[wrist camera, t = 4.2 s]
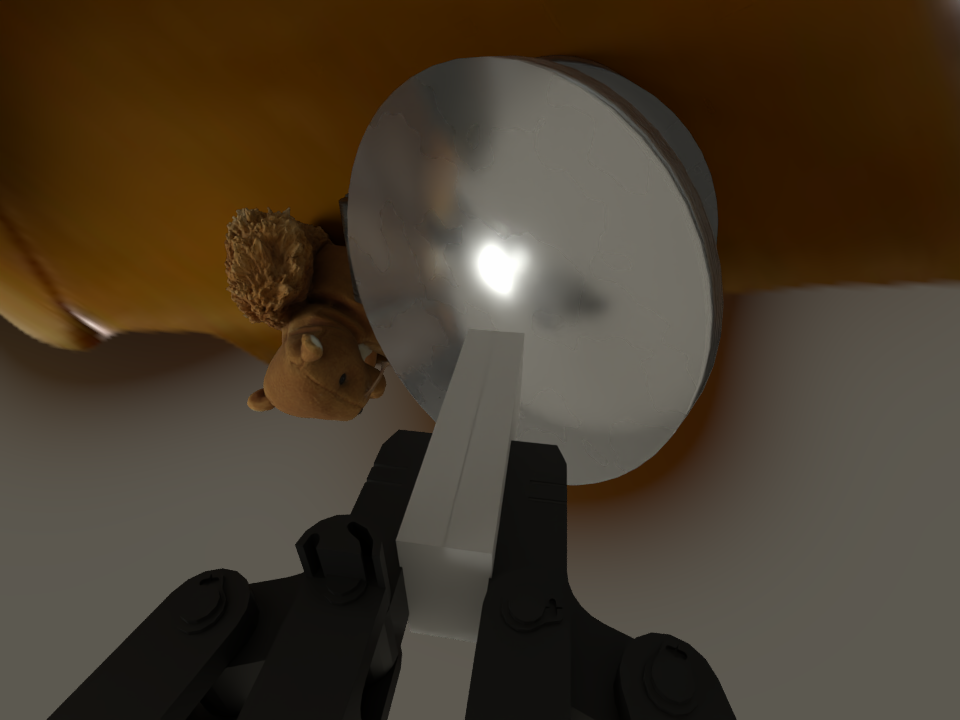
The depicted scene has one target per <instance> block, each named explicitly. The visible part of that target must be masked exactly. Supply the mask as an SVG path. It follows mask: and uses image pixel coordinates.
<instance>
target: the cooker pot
mask: <svg viewBox="0 0 960 720" xmlns="http://www.w3.org/2000/svg"><path fill="white" fill-rule="evenodd" d="M537 58H539V59H546V60H549V61H552V62H555V63H559V64H562V65H565V66H568V67H572V68H575V69H577V70H578V71H580V72H582V73H584V74H586V75H588V76H590V77H592V78H594V79H596V80H598V81H600V82H602V83H604V84H605V85H607V86H608V87H609V88H611V89H612V90H613V91H615V92H616V93H617V94H619V95H620V96H621V97H623V98H624V99H626V100H627V101H628V102H630V103H631V104H632V105H633V106H634V107H635V108H636V109H637V110H638V111H639V112H640V113H641V114H642V115H643V116H644V117H645V118H646V119H647V120H648V121H649V122H650V123H651V124H652V125H653V126H654V127H655V128H656V129H657V130H658V131H659V132H660V133H661V135H662V136H663V138H664V139H665V140H666V142H667V143H668V144H669V146H670V147H671V148H672V150H673V151H674V152H675V154H676V155H677V157H678V158H679V159H680V161H681V162H682V164H683V166H684V167H685V169H686V171H687V173H688V175H689V177H690V179H691V181H692V182H693V184H694V186H695V188H696V190H697V192H698V194H699V195H700V198H701V200H702V203H703V206H704V209H705V211H706V214H707V217H708V219H709V222H710V225H711V228H712V230H713V234H714V238H715V243H716V244H717V230H718V213H717V200H716V195H715V190H714V186H713V182H712V177H711V174H710V171H709V169H708V166H707V164H706V161H705V159H704V156H703V154H702V152H701V150H700V149H699V147H698V145H697V144H696V142H695V140H694V139H693V137H692V135H691V134H690V132H689V131H688V129H687V128H686V127H685V126H684V125H683V123H682V122H681V121H680V120H679V119H678V118H677V116H676V115H675V114H674V113H673V112H672V111H671V110H670V109H669V108H668V107H666V106H665V105H664V104H663V103H662V102H661V101H659V100H658V99H657V98H656V97H655V96H654V95H652V94H650V93H649V92H647V91H646V90H644V89H642V88H641V87H639V86H637V85H636V84H634V83H633V82H631V81H629V80H628V79H626V78H625V77H623V76H621V75H620V74H618V73H617V72H615V71H613V70H612V69H610V68H608V67H607V66H604V65H602V64H600V63H597V62H595V61H592V60H589V59H584V58H580V57H576V56H565V55H552V56H541V57H537ZM348 195H349V193H348V194H346V197H348Z"/></svg>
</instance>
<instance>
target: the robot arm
mask: <svg viewBox="0 0 960 720" xmlns="http://www.w3.org/2000/svg"><path fill="white" fill-rule="evenodd" d="M524 336H525V333H514V332H501V331H488V330H476V329H468V332H467V335H466V338H465V341H464V344H463V346H462V349H461V352H460V355H459V358H458V361H457V364H456V367H455V370H454V373H453V376H452V378H451V381H450V384H449V387H448V390H447V393H446V396H445V399H444V402H443V405H442V407H441V410H440V413H439V416H438V419H437V422H436V425H435V428H434V431H433V433H425V432H416V431H407V430H398V431H397V432H396V433H395V434H394V435H392V436H391V437H390V438H389V439H388V440H387V441H386V442H385V443H384V444H383V445H382V447H381V449H380V451H379V453H378V455H377V458H376V460H375V462H374V467H372V468H371V471H370V473H369V475H368V477H367V482H366V483H365V484H364V486H363V488H362V490H361V493H360V495H359V497H358V499H357V501H356V504H355V506H354V508H353V510H352V512H351V514H350V515H336V516H333V517H330V518H327V519H324V520H321V521H319V522H318V523H317V524H315V525H314V526H312V527H311V528H310V529H308V530H307V531H305V533H304V534H303V535H302V537H301V538H300V539H299V540H298V542H297V543H296V544H295V546H296V549H297V552H298V555H299V558H300V561H301V564H302V566H303V569H304V572H303V573H301V574H298V575H294V576H291V577H287V578H281V579H276V580H270V581H264V582H259V583H252V584H248V581H247V580H246V579H245V578H244V577H243V576H242V575H241V574H239V573H238V572H237V571H233V570H228V569H223V568H222V569H216V570H211V571H205V572H203V573H201V574H199V575H197V576H195V577H192V578H191V579H188V580H187V581H186V582H184V583H183V584H182V585H181V586H179V587H178V588H177V589H176V590H174V591H173V592H172V593H171V594H170V595H169V596H168V597H167V598H166V599H165V600H164V601H163V602H162V603H161V604H160V605H159V606H158V607H157V608H156V609H155V610H154V611H153V612H152V613H151V614H150V615H149V616H148V617H147V618H146V619H145V620H144V621H143V622H142V623H141V624H140V625H139V626H138V627H137V628H136V629H135V630H134V631H133V632H132V633H131V634H130V635H129V636H128V638H126V639H125V641H124V642H123V643H122V644H121V645H120V646H119V647H118V648H117V649H116V650H115V651H114V652H113V653H112V654H111V655H110V656H109V657H108V658H107V659H106V660H105V661H104V662H103V663H102V664H101V665H100V666H99V667H98V668H97V669H96V670H95V671H94V672H93V673H92V674H91V675H90V676H89V677H88V678H87V679H86V680H85V681H84V682H83V683H82V684H81V685H80V686H79V687H78V688H77V689H76V690H75V691H74V692H73V693H72V694H71V695H70V696H69V697H68V698H67V699H66V700H65V701H64V702H63V703H62V704H61V705H60V706H59V708H57V709H56V711H55V712H54V713H53V714H52V715H51V716H50V717H49V718H48V719H47V720H387V719H388V715H389V711H390V707H391V703H392V700H393V696H394V692H395V688H396V685H397V681H398V677H399V673H400V669H401V659H402V650H401V642H402V639H403V635H404V631H405V628H406V624H407V621H408V623H409V630H410V632H414V633H420V634H426V635H432V636H438V637H445V638H451V639H457V640H464V641H470V642H476V643H477V644H476V651H475V657H474V663H473V670H472V677H471V683H470V689H469V696H468V702H467V709H466V715H465V720H736V717H735V715H734V713H733V711H732V708H731V706H730V704H729V702H728V700H727V697H726V695H725V693H724V691H723V688H722V686H721V684H720V682H719V680H718V678H717V676H716V675H715V673H714V672H713V670H712V668H711V667H710V665H709V664H708V662H707V661H706V659H705V658H704V657H703V656H702V655H701V654H700V653H698V652H697V651H696V650H695V649H694V648H693V647H692V646H691V645H690V644H688V643H686V642H684V641H682V640H680V639H678V638H676V637H674V636H672V635H668V634H660V633H649V634H646V635H643V636H640V637H636V638H635V639H633V638H631V637H630V636H628V635H625V634H624V633H621V632H619V631H617V630H615V629H613V628H611V627H609V626H607V625H605V624H603V623H602V622H600V621H599V620H597V619H596V618H594V617H592V616H591V615H590V614H589V613H588V612H587V611H586V610H584V608H583V607H581V605H580V604H579V602H578V601H577V599H576V598H575V597H574V595H573V593H572V590H571V588H570V585H569V583H568V576H567V463H566V461H565V459H564V457H563V455H562V453H561V452H560V450H559V448H558V446H557V445H551V444H541V443H532V442H523V441H516V437H517V429H518V422H519V414H520V399H521V383H522V367H523V351H524Z"/></svg>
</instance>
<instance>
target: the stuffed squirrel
mask: <svg viewBox="0 0 960 720" xmlns="http://www.w3.org/2000/svg"><path fill="white" fill-rule="evenodd" d="M267 209H268V212H269V213H263V212H261V211H259V210H258V208H257V209H251V210H249V209H247V208H245V209H242V210H237V211H236V212H237V217H236V218H235V217H234V216H233V217H232V218H233V219H234V220H233V221H232V223H231V222H229V225H228V224H227V227H228V229H229V230H228V231H229V233H227V234H226V238H227V240H225V248H226V252H227V259H226V262H225V266H226V267H227V268H226V273H227V276H228V280H227V282H228V283H229V284H230V286H231V287H230V286H229V287H228V288H226V290H228V291H230V292H231V293H232V294H231V296H232V297H231V299H233V301H234V302H236V303H237V307H238V308H239V310H240V311H242V312H243V313H245V315H243V316H245V317H247V318H249V319H250V320H249V321H251V323H255V322H257V323H260V322H264V323H266V324H268V326H269V327H270V326H271V327H274V329H278V330H282V345H281V347H280V348H279V350H278V351H277V353H276V354H275V356H274V357H273V359H272V361H271V363H270V364H269V367H268V369H267V372H266V375H265V378H264V388H263V389H260V390H258V391H256V392H254V393H253V394H251V395H250V397H249V398H248V403H247V404H248V406H249V407H250V408H251V409H252V410H254V411H265V410H271V409H273V408H274V407H276V408H278V409H279V410H280V411H282V412H284V413H287V414H289V415H293V416H297V417H301V418H303V417H304V418H318V419H325V420H339V421H348V420H352V419H353V418H355V417H356V416H357V415H358V414H360V413H361V412H362V410H363V407H364V406H365V405H366V403H367V402H368V400H369V399H370V398H371V399H374V398H379V397H380V396H382V394H383V393H384V390H385V387H386V381H385V377H384V375H383V372H384V370H385V368H386V367H387V366H388V365H390V364H389V362H383V361H382V368H381V371H379V370H378V369H376V368H374V367H375V365H376V360H377V353H378V354H381V355H383V356H384V357H386V356H385V354H384V352H383V350H382V348H381V346H380V344H379V342H378V340H377V339H376V336H375V334H374V332H373V330H372V327H371V325H370V323H369V320H368V318H367V315H366V312H365V310H364V307H363V304H361V303H358V302H356V301H355V299H354V293H353V287H352V281H351V274H350V268H349V262H348V256H347V250H346V246H339V245H334V244H333V243H332V242H331V240H330V239H329V238H330V236H329V235H328V233H327V234H326V233H325V232H324V231H323V229H321V227H320V226H318V227H317V228H316V227H314V226H313V225H308V224H304V223H301V222H300V221H296V220H295V218H294V217H291V216H290V208H288V209H287V210H285V211H283V213H281V212H280V211H277V213H273V212H272V211H271V210H270V209H269V207H267Z"/></svg>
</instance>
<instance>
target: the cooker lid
mask: <svg viewBox="0 0 960 720" xmlns="http://www.w3.org/2000/svg"><path fill="white" fill-rule="evenodd" d="M339 206H340V212H341V218H342V225H343V231H344V237H345V243H346V250H347V256H348V262H349V268H350V274H351V281H352V287H353V293H354V299H355V301H356V302H358V303H361V304H363V307H364V310H365V312H366V315H367V318H368V320H369V323H370V325H371V327H372V330H373V332H374V334H375V336H376V339H377V340H378V342H379V344H380V346H381V348H382V350H383V352H384V354H385V356H386V358H387V359H388V361H389V362H390V364H391V366H392V367H393V369H394V371H395V372H396V374H397V375H398V377H399V378H400V379H401V381H402V382H403V384H404V385H405V387H406V388H407V389H408V391H409V392H410V393H411V395H412V396H413V397H414V398H415V400H416V401H417V402H418V403H419V404H420V406H421V407H422V408H423V409H424V410H425V411H426V412H427V413H428V414H429V415H430V416H431V417H432V419H433V420H434V421H435V422H437V419H438V416H439V413H440V410H441V407H442V405H443V402H444V399H445V396H446V393H447V390H448V387H449V384H450V381H451V378H452V376H453V373H454V370H455V367H456V364H457V361H458V358H459V355H460V352H461V349H462V346H463V344H464V341H465V338H466V335H467V332H468V329H476V330H488V331H501V332H514V333H525V336H524V351H523V367H522V383H521V399H520V414H519V422H518V429H517V437H516V441H523V442H532V443H541V444H551V445H557V446H558V448H559V450H560V452H561V453H562V455H563V457H564V459H565V461H566V463H567V485H583V484H591V483H598V482H602V481H605V480H609V479H613V478H617V477H619V476H621V475H623V474H625V473H627V472H629V471H631V470H633V469H635V468H637V467H639V466H640V465H641V464H643V463H644V462H645V461H647V460H648V459H650V458H651V457H652V456H654V455H655V454H656V453H657V452H658V451H659V450H660V448H662V446H663V445H664V444H665V443H666V442H667V441H668V440H669V439H670V438H671V437H672V435H673V434H674V433H675V431H676V430H677V428H678V427H679V426H680V424H681V423H682V421H683V420H684V418H685V417H686V416H687V414H688V413H689V411H690V410H691V408H692V407H693V405H694V403H695V402H696V401H697V399H698V397H699V396H700V394H701V393H702V391H703V389H704V387H705V384H706V382H707V379H708V377H709V375H710V373H711V370H712V368H713V365H714V361H715V357H716V353H717V349H718V345H719V341H720V337H721V326H722V313H723V291H722V276H721V266H720V261H719V257H718V252H717V248H716V243H715V238H714V234H713V230H712V228H711V225H710V222H709V219H708V217H707V214H706V211H705V209H704V206H703V203H702V200H701V198H700V195H699V194H698V192H697V190H696V188H695V186H694V184H693V182H692V181H691V179H690V177H689V175H688V173H687V171H686V169H685V167H684V166H683V164H682V162H681V161H680V159H679V158H678V157H677V155H676V154H675V152H674V151H673V150H672V148H671V147H670V146H669V144H668V143H667V142H666V140H665V139H664V138H663V136H662V135H661V133H660V132H659V131H658V130H657V129H656V128H655V127H654V126H653V125H652V124H651V123H650V122H649V121H648V120H647V119H646V118H645V117H644V116H643V115H642V114H641V113H640V112H639V111H638V110H637V109H636V108H635V107H634V106H633V105H632V104H631V103H630V102H628V101H627V100H626V99H624V98H623V97H621V96H620V95H619V94H617V93H616V92H615V91H613V90H612V89H611V88H609V87H608V86H607V85H605V84H604V83H602V82H600V81H598V80H596V79H594V78H592V77H590V76H588V75H586V74H584V73H582V72H580V71H578V70H577V69H575V68H572V67H568V66H565V65H562V64H559V63H555V62H552V61H549V60H546V59H539V58H531V57H523V56H492V57H474V58H461V59H455V60H451V61H448V62H444V63H441V64H437V65H434V66H432V67H430V68H428V69H426V70H424V71H422V72H420V73H418V74H416V75H414V76H413V77H411V78H410V79H408V80H407V81H406V82H405V83H404V84H402V85H401V86H400V87H399V88H397V89H396V90H395V91H394V92H393V93H392V94H391V95H390V96H389V97H388V99H387V100H386V101H385V102H384V103H383V104H382V106H381V107H380V108H379V109H378V111H377V112H376V114H375V116H374V117H373V119H372V121H371V122H370V124H369V126H368V127H367V129H366V132H365V134H364V136H363V139H362V141H361V143H360V146H359V148H358V151H357V155H356V158H355V162H354V165H353V169H352V174H351V180H350V186H349V195H348V197H345V198H342V199H340V200H339Z"/></svg>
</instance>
